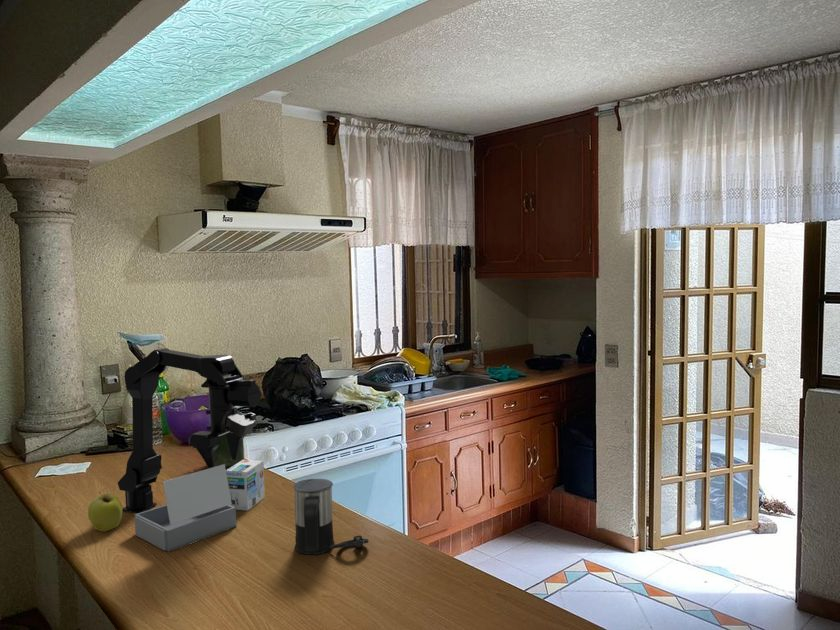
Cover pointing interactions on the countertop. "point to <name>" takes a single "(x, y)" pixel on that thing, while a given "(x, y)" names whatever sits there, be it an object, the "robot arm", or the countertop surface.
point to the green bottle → (227, 452)
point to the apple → (105, 512)
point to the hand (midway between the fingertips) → (223, 464)
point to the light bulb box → (246, 484)
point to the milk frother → (316, 518)
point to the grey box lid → (196, 493)
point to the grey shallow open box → (182, 526)
